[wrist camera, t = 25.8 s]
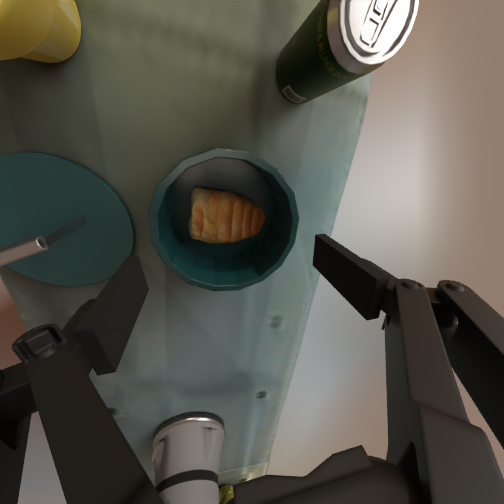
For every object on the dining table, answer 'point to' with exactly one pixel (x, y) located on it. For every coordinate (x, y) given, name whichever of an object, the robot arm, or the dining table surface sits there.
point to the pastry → (223, 216)
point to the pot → (223, 254)
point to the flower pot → (39, 29)
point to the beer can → (342, 45)
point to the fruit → (225, 493)
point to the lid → (60, 221)
